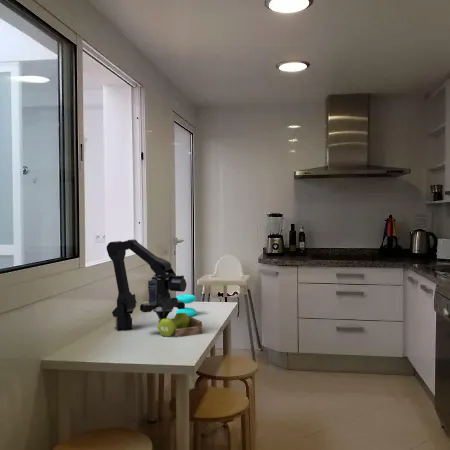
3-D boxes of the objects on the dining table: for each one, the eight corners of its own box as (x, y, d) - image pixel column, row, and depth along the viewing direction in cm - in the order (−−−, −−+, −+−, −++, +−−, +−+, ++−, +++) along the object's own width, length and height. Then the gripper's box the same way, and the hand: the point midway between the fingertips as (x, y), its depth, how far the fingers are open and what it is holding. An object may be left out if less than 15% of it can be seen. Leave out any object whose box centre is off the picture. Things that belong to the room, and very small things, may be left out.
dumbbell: (172, 337, 205) (172, 320, 205) (156, 336, 208) (155, 319, 208) (192, 329, 220) (191, 312, 220) (176, 327, 223) (176, 311, 223)
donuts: (174, 294, 253) (193, 293, 256) (174, 314, 253) (193, 312, 256) (177, 297, 243) (197, 296, 246) (178, 318, 243) (198, 316, 246)
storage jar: (165, 309, 266) (164, 281, 266) (147, 310, 266) (146, 282, 266) (167, 306, 276) (167, 279, 276) (150, 306, 276) (149, 279, 276)
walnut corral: (176, 337, 206) (175, 325, 206) (158, 326, 226) (158, 315, 226) (202, 333, 211) (201, 321, 211) (182, 323, 231) (182, 312, 231)
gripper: (147, 294, 204) (147, 332, 204) (189, 291, 212) (189, 327, 212) (139, 290, 214) (139, 326, 214) (180, 287, 222) (180, 322, 222)
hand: (162, 326), depth 216 cm, fingers closed
